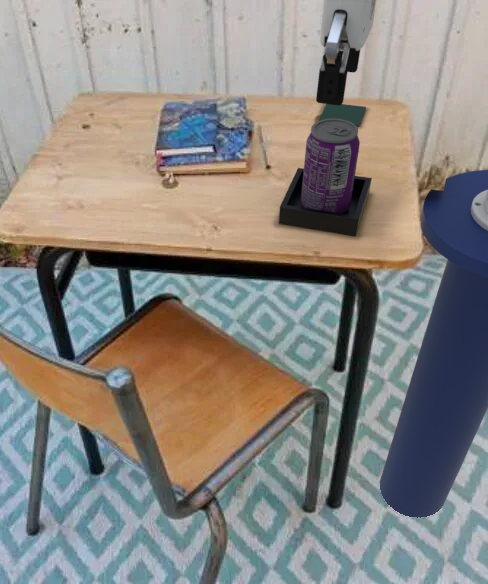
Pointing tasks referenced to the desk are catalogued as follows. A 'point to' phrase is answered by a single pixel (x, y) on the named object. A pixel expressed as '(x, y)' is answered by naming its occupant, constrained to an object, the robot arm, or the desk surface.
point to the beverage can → (330, 165)
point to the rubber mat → (343, 113)
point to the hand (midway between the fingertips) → (337, 86)
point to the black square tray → (320, 219)
